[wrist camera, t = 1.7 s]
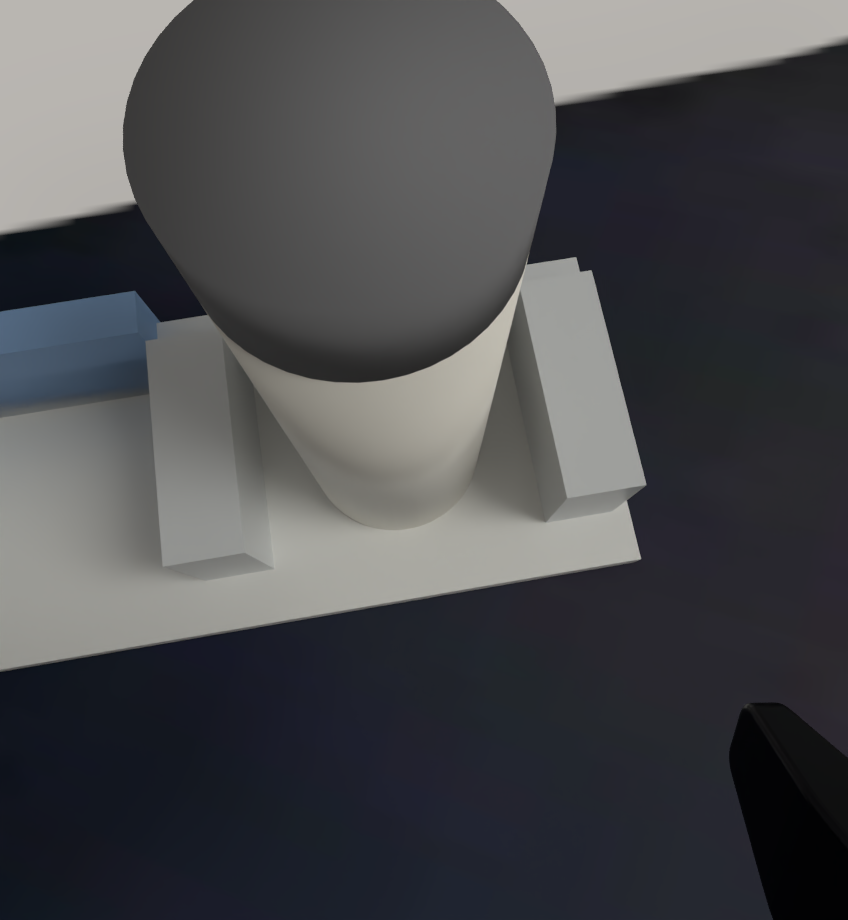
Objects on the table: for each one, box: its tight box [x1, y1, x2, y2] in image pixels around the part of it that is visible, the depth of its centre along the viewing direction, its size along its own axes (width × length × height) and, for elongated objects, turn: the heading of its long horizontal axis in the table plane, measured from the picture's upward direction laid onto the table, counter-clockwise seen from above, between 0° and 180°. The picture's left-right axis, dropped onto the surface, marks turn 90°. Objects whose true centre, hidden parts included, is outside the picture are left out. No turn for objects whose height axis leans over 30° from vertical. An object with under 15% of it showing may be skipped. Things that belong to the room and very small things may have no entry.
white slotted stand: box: [0, 257, 646, 672], centre depth 20 cm, size 9×23×5 cm, turn 100°
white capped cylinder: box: [123, 0, 556, 530], centre depth 15 cm, size 5×5×14 cm
